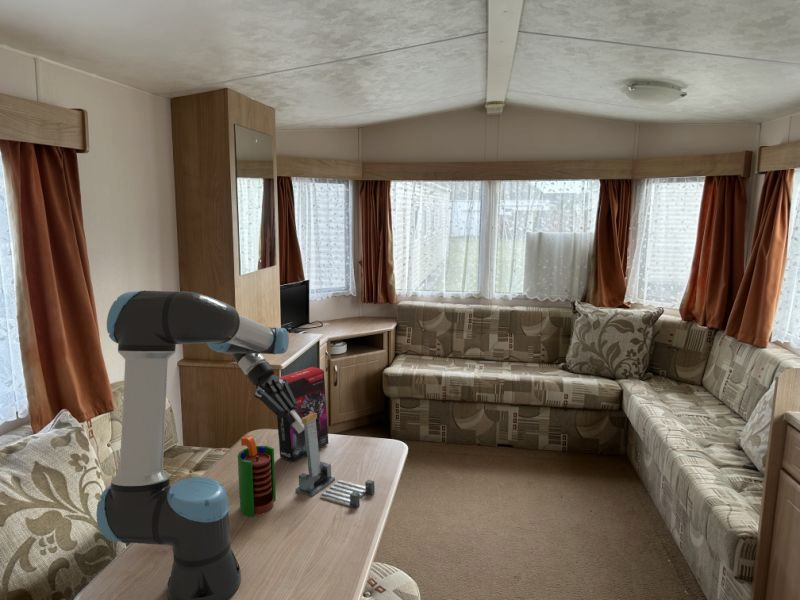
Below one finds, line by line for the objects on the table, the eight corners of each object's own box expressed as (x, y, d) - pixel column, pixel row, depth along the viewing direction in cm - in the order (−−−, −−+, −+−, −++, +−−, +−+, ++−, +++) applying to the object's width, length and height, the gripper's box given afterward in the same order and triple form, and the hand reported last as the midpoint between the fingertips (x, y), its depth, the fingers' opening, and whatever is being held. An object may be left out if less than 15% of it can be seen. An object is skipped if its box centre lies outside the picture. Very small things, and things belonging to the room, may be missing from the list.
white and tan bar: (313, 486, 163) (306, 418, 160) (306, 484, 164) (300, 418, 162) (324, 478, 168) (317, 413, 165) (317, 477, 169) (311, 412, 166)
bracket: (354, 509, 153) (354, 492, 152) (295, 491, 163) (294, 475, 162) (375, 491, 162) (375, 475, 162) (318, 475, 172) (318, 460, 172)
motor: (264, 518, 149) (260, 447, 146) (233, 515, 151) (228, 445, 148) (280, 499, 159) (276, 432, 156) (250, 496, 161) (246, 429, 157)
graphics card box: (291, 463, 181) (287, 382, 176) (277, 457, 185) (273, 378, 180) (329, 445, 194) (326, 368, 189) (315, 440, 198) (311, 365, 194)
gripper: (247, 366, 163) (295, 431, 158) (277, 355, 174) (323, 415, 169) (235, 381, 167) (281, 445, 161) (265, 369, 178) (309, 429, 173)
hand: (302, 430), depth 165 cm, fingers closed
